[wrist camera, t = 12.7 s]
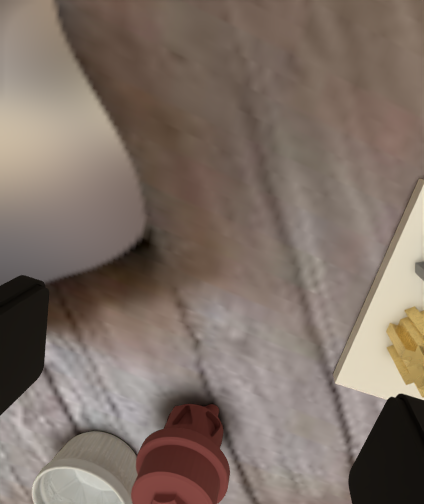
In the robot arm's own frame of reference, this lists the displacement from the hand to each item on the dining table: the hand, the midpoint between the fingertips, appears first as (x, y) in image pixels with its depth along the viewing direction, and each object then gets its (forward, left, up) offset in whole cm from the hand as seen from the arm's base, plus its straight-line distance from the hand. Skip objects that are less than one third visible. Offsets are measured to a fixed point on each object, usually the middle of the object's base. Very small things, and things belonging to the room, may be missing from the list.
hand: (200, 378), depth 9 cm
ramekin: (+41, -11, -27) cm, 50 cm away
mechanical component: (+28, 0, -26) cm, 39 cm away
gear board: (+5, +19, -26) cm, 33 cm away
